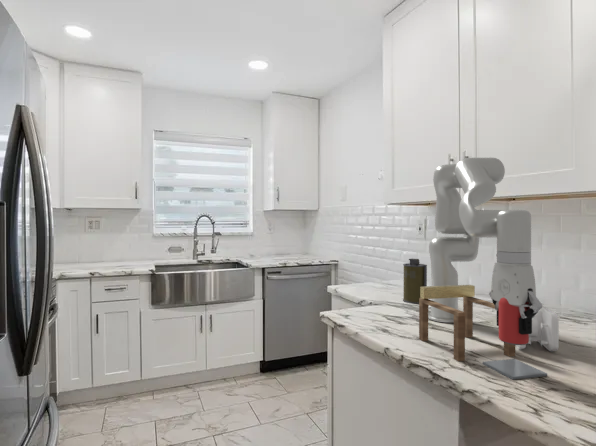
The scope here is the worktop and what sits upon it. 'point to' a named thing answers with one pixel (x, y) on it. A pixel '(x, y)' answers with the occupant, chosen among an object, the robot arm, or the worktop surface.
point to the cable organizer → (544, 330)
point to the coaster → (514, 369)
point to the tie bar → (447, 291)
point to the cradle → (457, 324)
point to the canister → (414, 280)
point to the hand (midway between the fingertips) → (513, 329)
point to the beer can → (510, 324)
